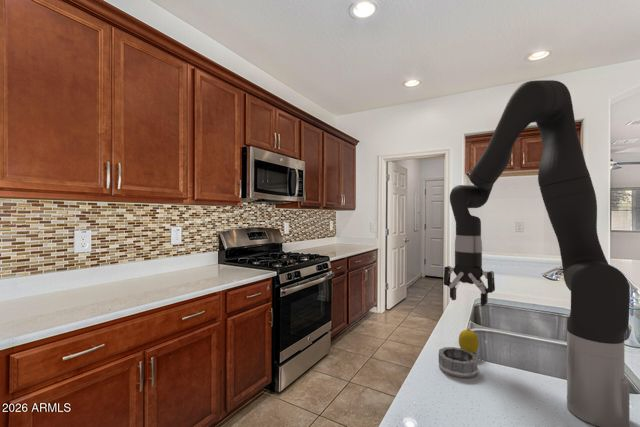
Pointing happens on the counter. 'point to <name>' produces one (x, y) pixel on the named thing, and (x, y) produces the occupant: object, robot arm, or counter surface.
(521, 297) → the counter surface
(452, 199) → the robot arm
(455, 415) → the counter surface
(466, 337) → the lemon
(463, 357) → the holder
